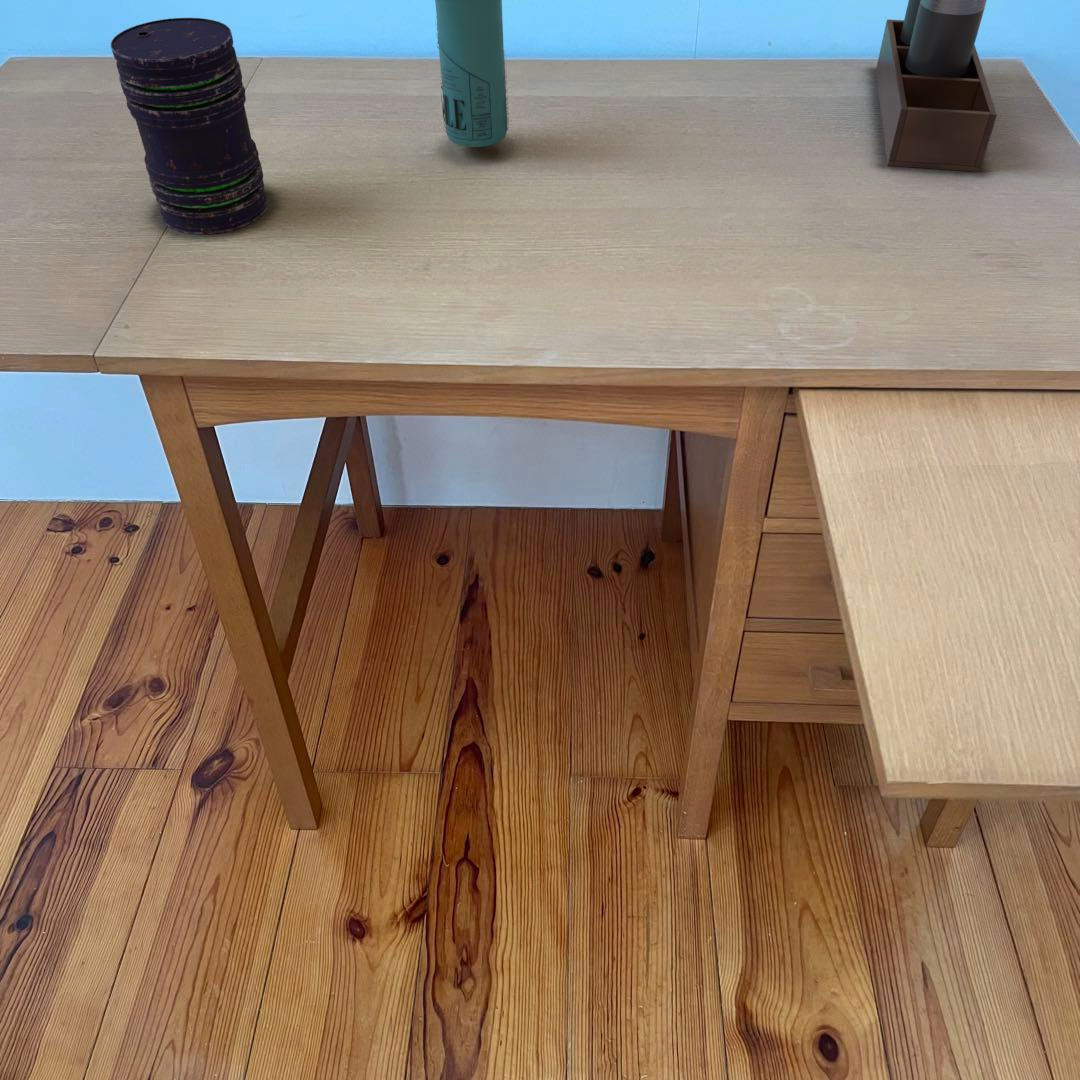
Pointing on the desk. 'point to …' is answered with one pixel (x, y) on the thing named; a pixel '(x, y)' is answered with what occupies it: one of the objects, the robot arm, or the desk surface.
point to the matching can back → (909, 22)
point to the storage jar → (192, 123)
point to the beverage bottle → (472, 71)
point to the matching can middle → (944, 37)
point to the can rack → (932, 111)
